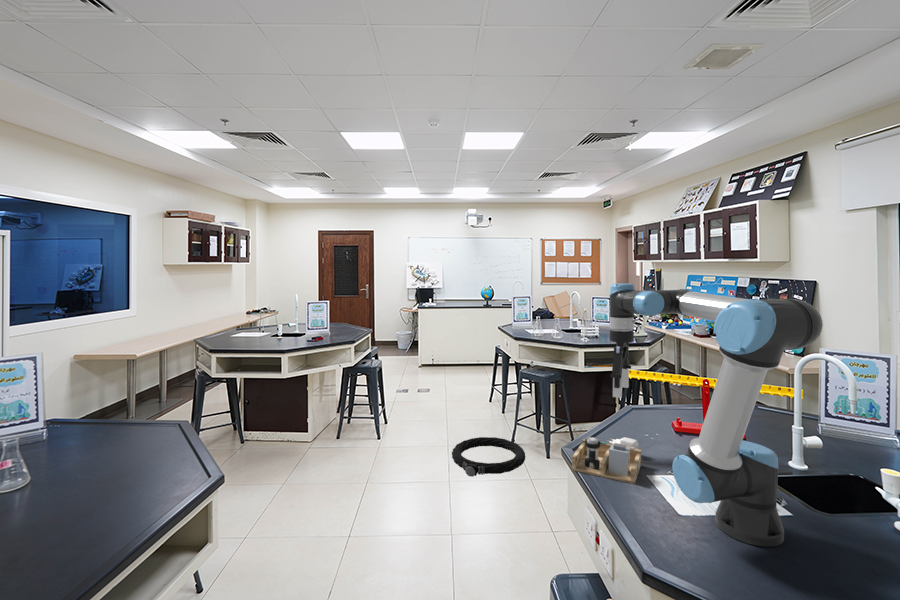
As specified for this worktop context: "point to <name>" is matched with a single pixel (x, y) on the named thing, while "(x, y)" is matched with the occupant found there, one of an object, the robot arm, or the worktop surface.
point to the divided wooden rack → (606, 463)
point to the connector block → (619, 459)
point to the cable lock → (488, 468)
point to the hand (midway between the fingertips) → (620, 392)
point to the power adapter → (625, 442)
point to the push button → (592, 453)
